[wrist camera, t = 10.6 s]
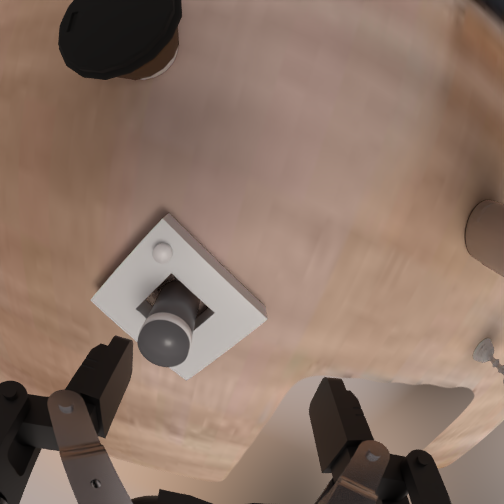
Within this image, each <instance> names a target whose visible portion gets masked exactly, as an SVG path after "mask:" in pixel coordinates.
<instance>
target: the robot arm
mask: <svg viewBox="0 0 504 504" xmlns="http://www.w3.org/2000/svg"><path fill="white" fill-rule="evenodd" d="M465 238H466V246H467V249H468V252H469V253H470V255H471V256H472V257H473V258H475V259H477V260H478V261H480V262H481V263H482V264H483V265H485V266H486V267H488V268H490V269H491V270H493V271H495V272H496V273H498V274H500V275H501V276H503V277H504V204H502V203H499V202H495V201H492V200H485V201H482V202H481V203H479V204H478V205H477V206H476V207H475V209H474V210H473V211H472V213H471V215H470V217H469V220H468V223H467V227H466V236H465ZM132 361H133V341H132V340H129V339H126V338H122V337H119V336H114V337H113V339H112V340H111V342H110V344H109V345H108V346H107V345H104V344H100V345H98V346H96V347H95V348H93V349H92V350H91V351H90V352H89V354H88V355H87V357H86V359H85V360H84V361H83V363H82V366H80V367H79V369H78V370H77V372H76V373H75V375H74V376H73V378H72V380H71V381H70V383H69V384H68V386H67V387H66V389H65V390H59V391H56V392H54V393H53V394H51V396H50V397H43V396H37V395H31V394H27V391H26V389H25V387H24V386H23V385H22V384H20V383H18V382H16V381H5V382H2V383H0V504H19V503H20V500H21V497H22V495H23V492H24V489H25V487H26V484H27V482H28V479H29V477H30V474H31V472H32V469H33V467H34V465H35V462H36V460H37V457H38V455H39V453H40V451H41V449H42V448H43V449H49V450H57V451H60V456H61V460H62V462H63V465H64V468H65V471H66V474H67V477H68V479H69V482H70V485H71V487H72V490H73V492H74V495H75V497H76V499H77V502H78V504H212V503H209V502H206V501H204V500H201V499H198V498H195V497H193V496H190V495H185V494H180V493H175V492H170V491H166V490H161V489H160V490H159V495H158V496H143V497H138V498H134V499H130V497H129V495H128V494H127V492H126V490H125V488H124V486H123V484H122V482H121V481H120V479H119V477H118V475H117V473H116V471H115V469H114V467H113V464H112V462H111V460H110V458H109V456H108V454H107V452H106V450H105V448H104V446H103V445H101V443H100V441H99V438H98V436H100V437H103V438H106V435H107V433H108V431H109V428H110V426H111V423H112V421H113V419H114V416H115V414H116V411H117V409H118V407H119V404H120V402H121V400H122V397H123V395H124V393H125V391H126V388H127V386H128V384H129V381H130V378H131V374H132ZM309 415H310V420H311V424H312V429H313V434H314V438H315V443H316V447H317V452H318V456H319V461H320V466H321V471H322V473H332V476H333V478H332V479H331V480H330V481H329V483H328V484H327V486H326V487H325V489H324V490H323V492H322V493H321V495H320V496H319V497H318V499H317V500H316V502H315V503H314V504H409V500H408V498H407V494H409V496H410V499H411V502H412V504H452V503H451V501H450V498H449V496H448V493H447V490H446V488H445V486H444V483H443V481H442V478H441V476H440V474H439V471H438V469H437V466H436V464H435V462H434V459H433V458H432V456H431V455H430V454H428V453H427V452H425V451H423V450H413V451H411V452H410V453H409V454H408V455H407V456H406V457H404V456H399V455H393V454H389V451H388V449H387V448H386V447H385V446H384V445H383V444H382V443H380V442H377V441H374V439H373V436H372V434H371V431H370V429H369V426H368V423H367V421H366V418H365V417H364V414H363V411H362V409H361V406H360V404H359V401H358V399H357V398H356V397H355V396H354V394H353V393H352V392H351V391H347V390H346V388H345V386H344V383H343V381H342V379H338V378H327V377H325V378H323V379H322V381H321V383H320V385H319V387H318V389H317V391H316V393H315V395H314V397H313V399H312V401H311V403H310V408H309ZM251 504H261V503H251Z"/></svg>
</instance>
